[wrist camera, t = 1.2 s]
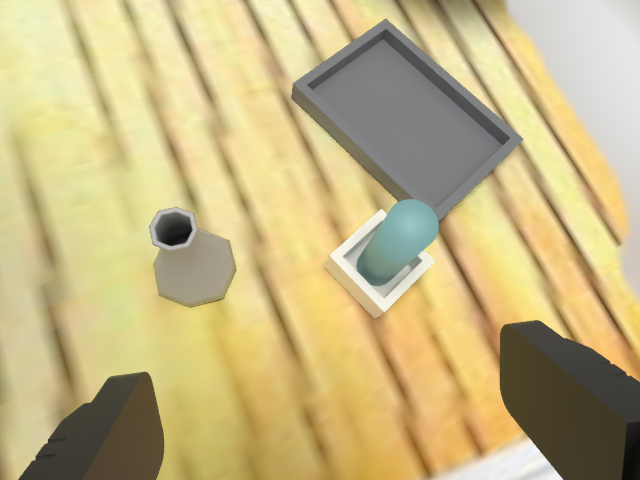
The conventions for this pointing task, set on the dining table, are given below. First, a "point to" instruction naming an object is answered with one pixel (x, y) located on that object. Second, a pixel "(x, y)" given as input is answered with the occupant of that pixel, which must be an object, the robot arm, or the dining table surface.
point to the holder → (357, 286)
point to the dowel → (397, 241)
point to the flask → (190, 259)
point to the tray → (405, 119)
